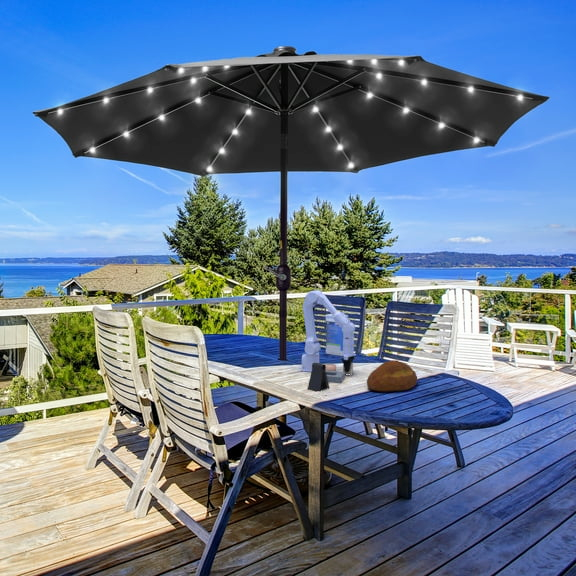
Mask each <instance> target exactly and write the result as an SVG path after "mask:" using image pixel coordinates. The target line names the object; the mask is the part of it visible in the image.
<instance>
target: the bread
mask: <svg viewBox="0 0 576 576" xmlns="http://www.w3.org/2000/svg"><path fill="white" fill-rule="evenodd" d="M417 383H418V376H417V374H416V371H414V369H413V368H412V367H411V365H408V364H407V363H405V362H403V361H400V360H398V359H397V360H394V359H393V360H389V361H385V362H383V363H382V364H380V365H379V366H378V367H376V368H375V369H374V370H372V371H371V372H370V374H369V375H368V376H367V379H366V386H367V387H368V388H369V389H370V390H372V391H374V392H398V391H399V392H401V391H406V390H410V389H411V388H414V387H415V386H416V385H417Z"/></svg>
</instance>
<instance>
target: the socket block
mask: <svg viewBox="0 0 576 576" xmlns="http://www.w3.org/2000/svg"><path fill="white" fill-rule="evenodd" d="M326 374H327V379H328V383H330V382H333V383H334V384H342V382H343V381H344V380H345V379H346V375H345V372H343V371H337V370H336V371H326ZM344 378H345V379H344ZM343 379H344V380H343ZM342 380H343V381H342ZM333 383H332V384H333Z"/></svg>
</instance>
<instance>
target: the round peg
mask: <svg viewBox="0 0 576 576" xmlns="http://www.w3.org/2000/svg"><path fill="white" fill-rule="evenodd" d="M324 364H325V365H326V371H337V364H334V363H324Z"/></svg>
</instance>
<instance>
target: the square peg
mask: <svg viewBox="0 0 576 576" xmlns="http://www.w3.org/2000/svg"><path fill="white" fill-rule="evenodd" d="M342 372H345V369H344V364H343V363H342ZM352 373H353V374H354V362H353V363H351V365H350V371H349V372H345V374H350V375H351V374H352ZM353 374H352V375H353ZM350 375H349V376H350Z"/></svg>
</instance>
